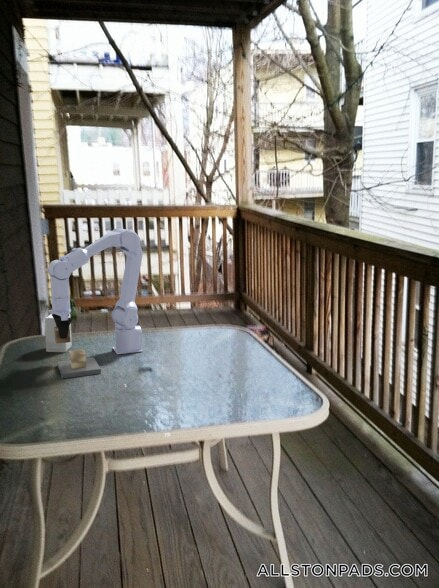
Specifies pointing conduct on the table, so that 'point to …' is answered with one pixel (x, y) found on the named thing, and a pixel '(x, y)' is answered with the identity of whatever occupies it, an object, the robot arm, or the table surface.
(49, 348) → the supplement box
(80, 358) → the maple block
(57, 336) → the walnut block
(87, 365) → the plate
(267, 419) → the table surface
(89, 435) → the table surface
